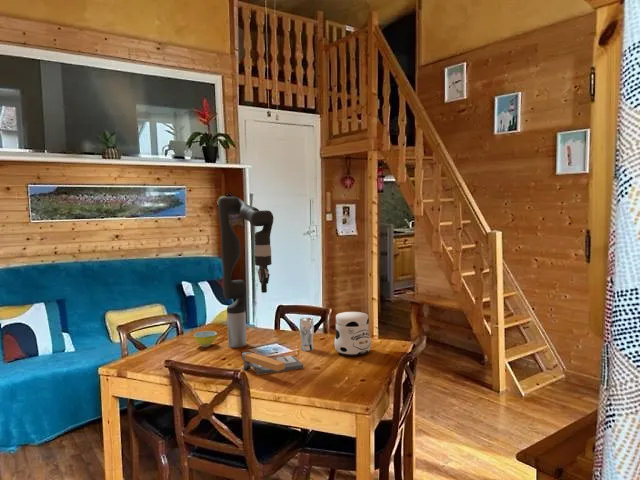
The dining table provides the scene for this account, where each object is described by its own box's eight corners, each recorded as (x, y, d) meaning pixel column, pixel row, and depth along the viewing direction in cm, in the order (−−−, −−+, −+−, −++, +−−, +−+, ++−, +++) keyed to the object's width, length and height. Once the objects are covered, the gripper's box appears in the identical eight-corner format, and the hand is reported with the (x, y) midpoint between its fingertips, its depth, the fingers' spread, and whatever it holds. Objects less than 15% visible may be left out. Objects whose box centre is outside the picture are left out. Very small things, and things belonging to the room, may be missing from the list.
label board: (250, 364, 214) (250, 360, 214) (293, 358, 221) (293, 354, 221) (257, 374, 201) (257, 370, 201) (303, 368, 208) (303, 363, 208)
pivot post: (243, 368, 210) (242, 359, 210) (249, 367, 211) (249, 358, 211) (244, 370, 207) (244, 361, 207) (251, 369, 208) (251, 360, 208)
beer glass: (298, 348, 237) (297, 318, 236) (311, 346, 240) (310, 316, 239) (302, 352, 231) (302, 321, 230) (316, 350, 233) (315, 319, 232)
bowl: (214, 348, 240) (213, 336, 240) (191, 349, 240) (191, 337, 240) (219, 342, 251) (219, 330, 251) (197, 342, 252) (197, 331, 251)
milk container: (366, 359, 218) (365, 320, 216) (329, 356, 223) (329, 318, 222) (374, 348, 234) (374, 312, 233) (340, 346, 240) (339, 310, 238)
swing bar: (240, 359, 209) (240, 353, 208) (247, 356, 211) (247, 351, 211) (277, 371, 192) (277, 365, 192) (284, 368, 195) (284, 362, 195)
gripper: (251, 253, 223) (252, 290, 225) (258, 256, 211) (259, 295, 212) (267, 252, 226) (268, 289, 227) (274, 255, 214) (276, 294, 215)
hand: (264, 292), depth 220 cm, fingers closed
